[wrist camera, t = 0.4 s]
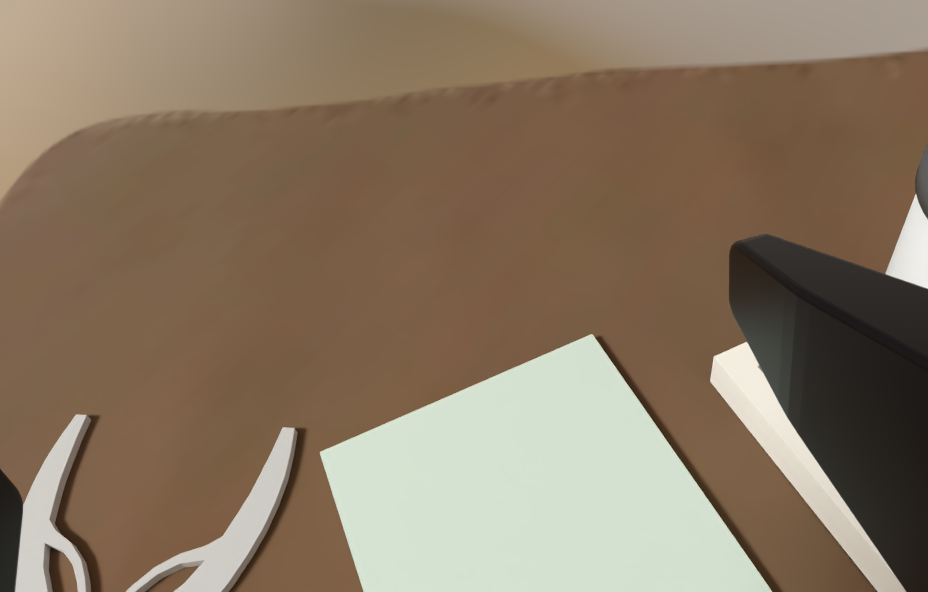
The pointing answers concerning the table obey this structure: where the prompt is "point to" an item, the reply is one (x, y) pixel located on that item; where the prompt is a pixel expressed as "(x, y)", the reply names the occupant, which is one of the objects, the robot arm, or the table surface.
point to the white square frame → (795, 458)
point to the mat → (532, 492)
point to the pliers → (204, 585)
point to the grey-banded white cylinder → (914, 235)
